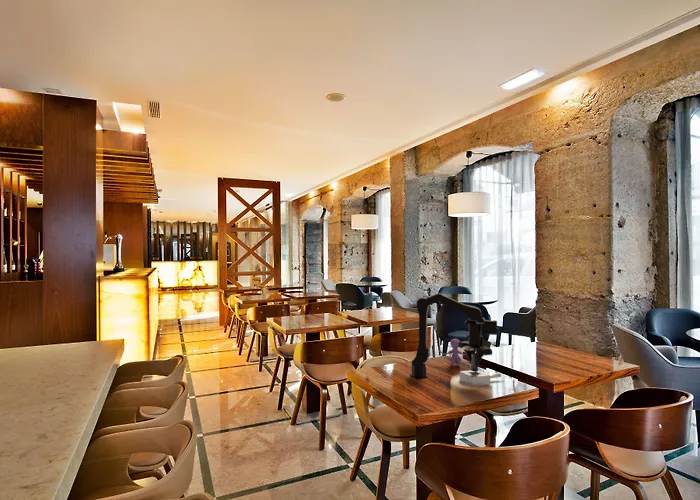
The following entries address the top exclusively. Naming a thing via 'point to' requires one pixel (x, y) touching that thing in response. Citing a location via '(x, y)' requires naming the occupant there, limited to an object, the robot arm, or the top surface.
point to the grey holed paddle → (476, 378)
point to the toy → (454, 352)
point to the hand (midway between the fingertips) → (474, 366)
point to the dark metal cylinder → (473, 364)
